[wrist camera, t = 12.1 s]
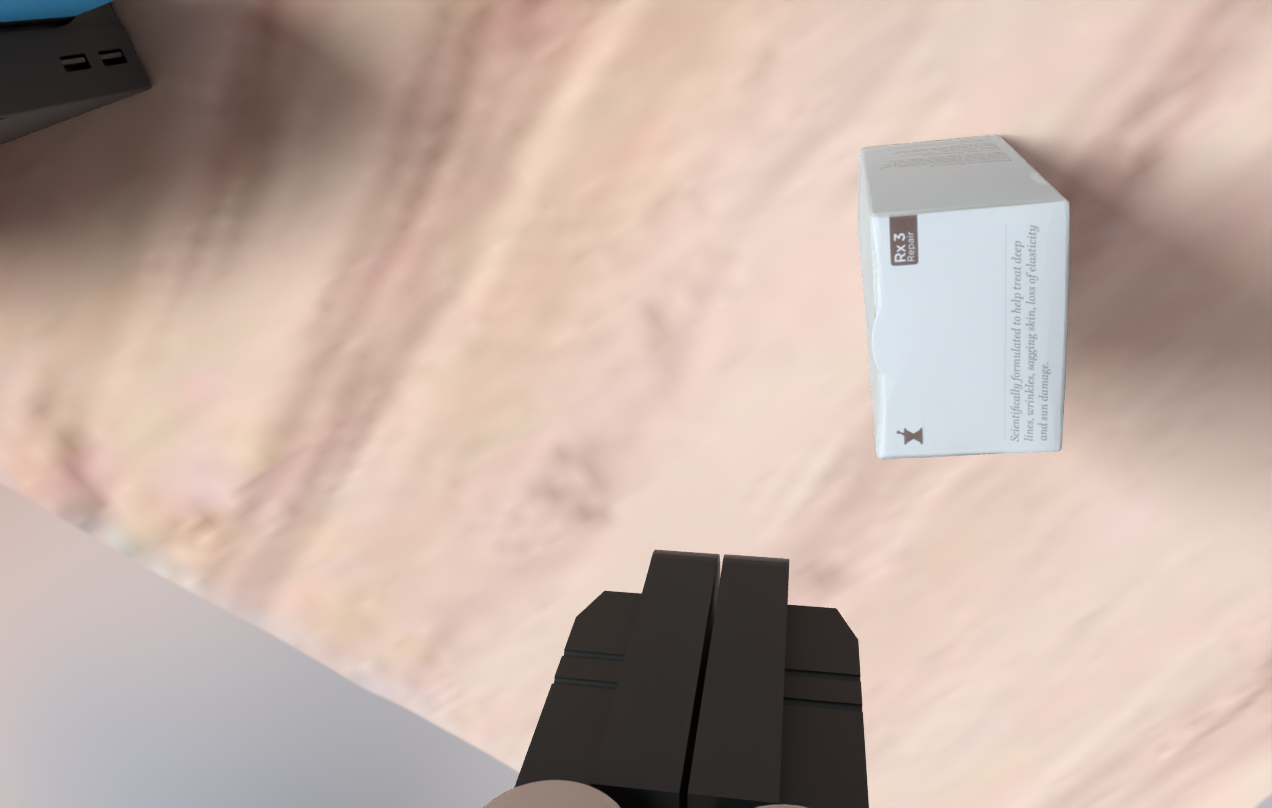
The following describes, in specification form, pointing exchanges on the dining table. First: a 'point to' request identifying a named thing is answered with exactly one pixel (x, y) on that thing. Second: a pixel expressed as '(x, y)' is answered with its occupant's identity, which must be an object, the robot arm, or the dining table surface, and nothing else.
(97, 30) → the game console
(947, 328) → the skincare box
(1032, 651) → the dining table surface
